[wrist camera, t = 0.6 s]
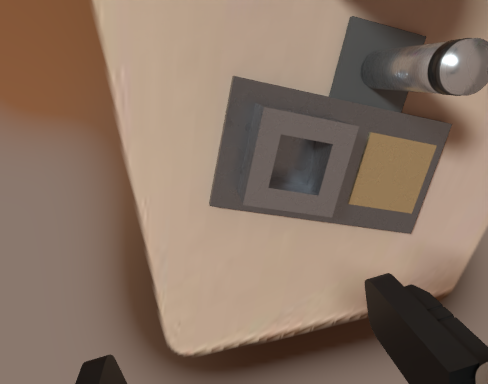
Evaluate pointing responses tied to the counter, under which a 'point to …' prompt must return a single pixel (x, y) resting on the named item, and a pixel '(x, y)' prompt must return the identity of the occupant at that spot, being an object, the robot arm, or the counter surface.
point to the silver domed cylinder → (430, 67)
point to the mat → (353, 54)
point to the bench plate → (303, 150)
